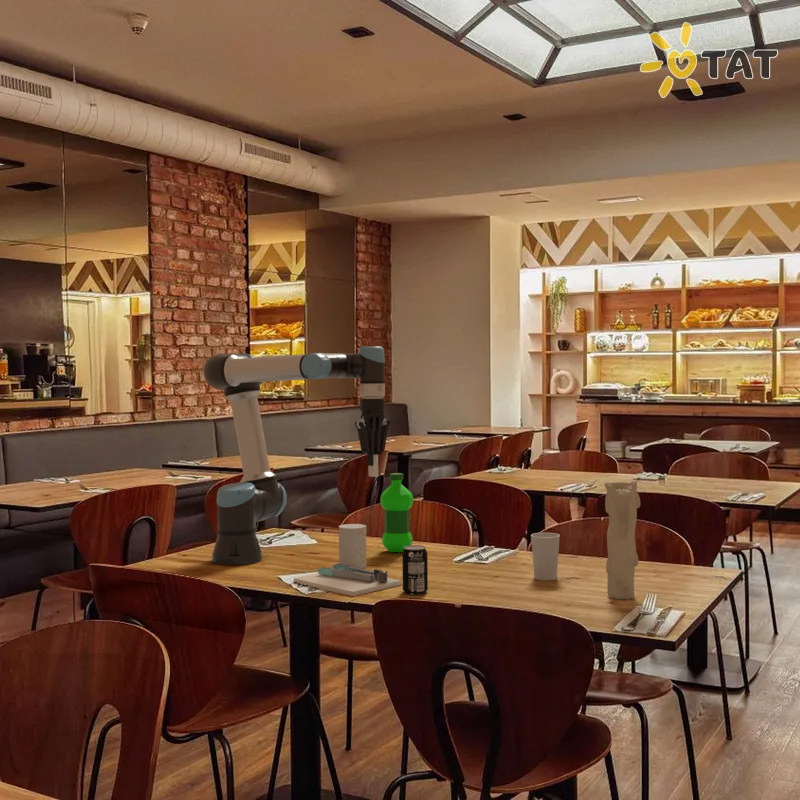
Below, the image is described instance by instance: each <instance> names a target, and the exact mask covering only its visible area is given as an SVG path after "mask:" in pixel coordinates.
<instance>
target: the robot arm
mask: <svg viewBox="0 0 800 800" xmlns="http://www.w3.org/2000/svg"><path fill="white" fill-rule="evenodd" d="M385 359H386V358H385V350H384V347H383V346H380V345H379V346H378V345H377V346H368V345H367V346H360V347H359V351H358V352H356V353H349V352H348V353H345V352H344V353H341V352H340V353H338V352H337V353H335V352H334V353H331V352H330V353H325V352H324V353H323V352H312V353H307V354H305V353H303V354H289V355H288V354H287V355H286V354H284V355H270V356H254V355H252V354H248V353H245V352H244V353H243V352H240V353H239V352H238V353H236V352H235V353H216V354H214V355H212V356H210V357H209V358H208V359H207V360H206V362H205V364H204V366H203V371H202V372H203V378H204V380H205V382H206V384H207V385H208V386H209V387H211V388H213V389H214V390H216V391H223V394H224V398H225V399H226V400H227V401H228V402H229V403H230V406H231V410H232V411H231V412H232V417H233V423H234V429H235V433H236V440H237V444H238V451H239V455H240V457H239V458H240V462H241V466H242V473H243V476H242V478H240V479H241V480H239V482H235V483H234V482H233V483H228V484H225V485H222V486H221V487H219V488H218V490H217V492H216V518H217V519H216V520H217V522H216V523H217V526H216V527H217V537H216V540H215V544H214V548H213V551H212V554H211V558H212V559H211V560H212V563H214V564H217V565H223V566H225V565H227V566H236V565H237V566H238V565H249V564H255V563H259V562H260V561H262V560H263V552H262V550H261V546H260V543H259V540H258V537H257V533H256V529H257V528H256V527H257V525H256V523H258V522H262V521H268V520H271V519H274V518H276V517H278V516H279V515H281V514H282V512H283V511H284V509H286V505H287V499H288V498H287V497H288V495H287V491H286V490H285V488H284V486H283V485H282V484H281V483H279V482H278V479H277V475H276V474H275V473H274V472H272V471H271V468H270V461H269V456H268V450H267V446H266V445H267V444H266V439H265V434H264V428H263V423H262V417H261V416H262V415H261V412H260V406H259V400H258V399H259V398H258V397H259V396H260V394H261V392H262V391H261V385H262V384H263V383H264V382H282V381H283V382H286V381H302V380H306V381H307V380H323V379H324V380H327V379H337V380H338V379H359V396H360V397H361V398H360V400H359V409H360V411H361V415H360V420H358V421H355V423H354V425H355V428H356V430H357V434H358V440H359V445H360V446H359V447H360V450H361V453H362V454H364V455H366V464H367V468H368V469H367V470H368V477H371V478H372V477H375V478H376V477H379V465H380V455H382V454H383V453H384V452H385V450H386V444H387V438H388V432H389V431H388V430H389V427H390V425H391V420H390V419H386V417H385V413H384V411H385V410H386V399H385V398H384V397H385V395H386V381H385V380H386V379H385V375H386V373H385V372H386V371H385V365H386V360H385Z"/></svg>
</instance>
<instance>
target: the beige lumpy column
mask: <svg viewBox="0 0 800 800" xmlns="http://www.w3.org/2000/svg"><path fill="white" fill-rule="evenodd" d="M604 487H605V490H606V493H605V494H606V495H605V499H604V500H605V501H604V502H605V503H604V505H605V507H604V508H605V509H604V510H605V513H606V514H608V519H609V520H608V528H607V532H606V544H607V560H606V565H605V571H606V574H607V589H606V590H607V596H608V597H609V598H610V597H611V599H614V598H615V599H614V600H620V599H626V600H631V598H632V599H634V598H635V586H634V585H635V573H636V572H635V571H636V570H635V569H636V567H637V566H639V556H638V553H637V544H636V537H635V535H636V532H635V531H636V526H637V516H638V513H637V511H638V509H639V508H640V507H641V499H640V494H639V493H638V481H637V480H635V479H634V480H632V481H631V482H625V481H624V482H623V481H622V482H621V481H620V482H618V481H617V482H615V481H614V482H605V483H604Z"/></svg>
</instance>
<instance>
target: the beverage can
mask: <svg viewBox="0 0 800 800" xmlns="http://www.w3.org/2000/svg"><path fill="white" fill-rule="evenodd" d="M401 554H402V591H403V592H404V593H405V594H406V595H412V596H418V595H419V596H420V595H424V594H426V593H427V591H428V588H429V585H428V584H429V583H428V582H429V581H428V580H429V579H428V578H429V577H428V574H429V573H428V570H429V569H428V560H429V559H428V551H427V548H426V546H425V545H421V544H418V545H417V544H414V545H409V546H405V547H404V551H403V553H401Z"/></svg>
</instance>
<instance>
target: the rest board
mask: <svg viewBox="0 0 800 800" xmlns="http://www.w3.org/2000/svg"><path fill="white" fill-rule="evenodd" d="M294 582H297V583H296V584H298V583H300V584H299V585H302V584H304V585H303V586H306V585H308V586H307V587H310V586H313V587H312V588H315V587H316V589H321V590H325V591H329V592H333V593H336V594H341V595H346V596H350V597H355V596H356V597H357V596H360V595H364V594H369V593H372V592H377V591H382V590H385V589H389V588H393V587H398V586H401V585H402V579H401V580H400V579H398V578H397V579H396V578H392V577H388V582H387V583H379V581H377V580H374V581H371V582H369V581H362V580H355V579H349V578H342V577H335V576H327V575H320V574H318V572H317V573H313V574H308V575H303V576H298V577H293V583H294Z"/></svg>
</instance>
